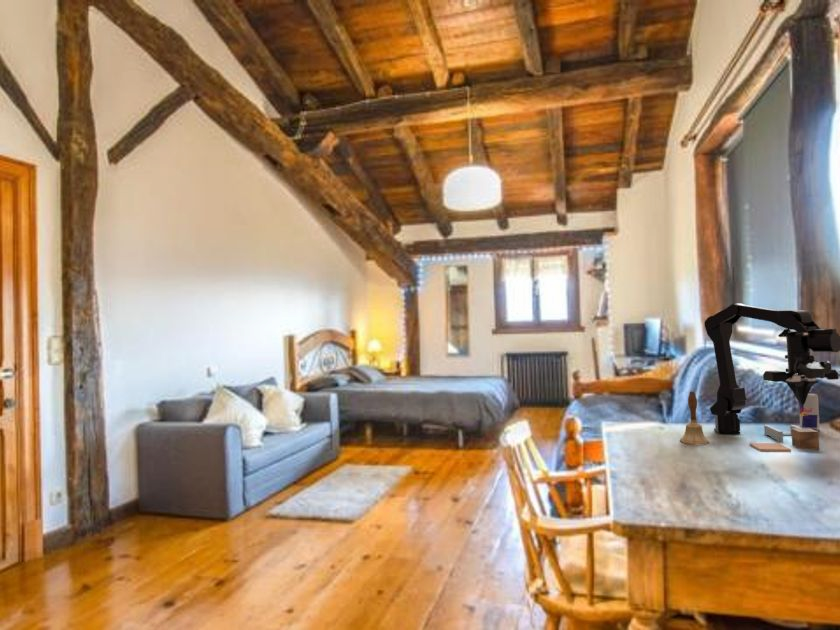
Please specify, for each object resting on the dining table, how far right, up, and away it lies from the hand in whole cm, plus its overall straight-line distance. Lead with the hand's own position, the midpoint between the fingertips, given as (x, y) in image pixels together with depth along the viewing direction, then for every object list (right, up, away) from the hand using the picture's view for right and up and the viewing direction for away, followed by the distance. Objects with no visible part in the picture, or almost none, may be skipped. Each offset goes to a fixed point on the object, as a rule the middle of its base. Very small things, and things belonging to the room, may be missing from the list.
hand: (802, 404), depth 163 cm
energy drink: (+17, -12, +21) cm, 30 cm away
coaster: (-11, -13, -2) cm, 17 cm away
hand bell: (-27, -14, +10) cm, 32 cm away
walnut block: (0, -12, -2) cm, 12 cm away
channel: (+3, -12, +10) cm, 16 cm away
